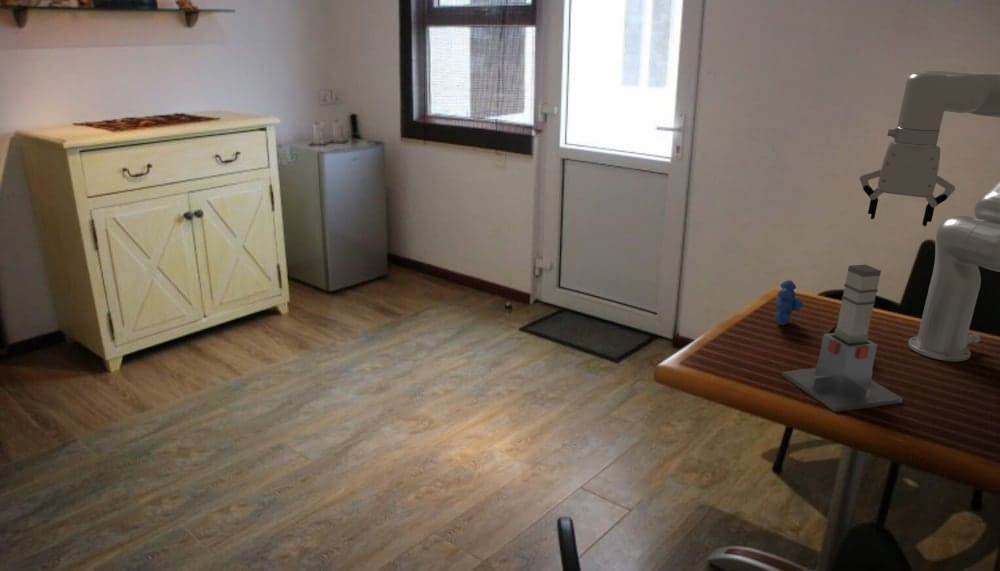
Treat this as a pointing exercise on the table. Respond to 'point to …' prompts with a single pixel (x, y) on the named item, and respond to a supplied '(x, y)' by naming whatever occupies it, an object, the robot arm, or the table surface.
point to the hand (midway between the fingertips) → (898, 221)
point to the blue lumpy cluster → (786, 302)
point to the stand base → (843, 377)
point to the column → (857, 305)
